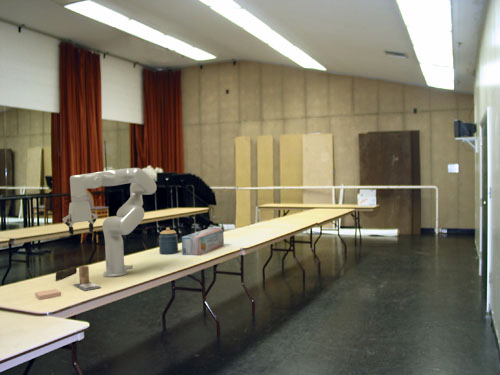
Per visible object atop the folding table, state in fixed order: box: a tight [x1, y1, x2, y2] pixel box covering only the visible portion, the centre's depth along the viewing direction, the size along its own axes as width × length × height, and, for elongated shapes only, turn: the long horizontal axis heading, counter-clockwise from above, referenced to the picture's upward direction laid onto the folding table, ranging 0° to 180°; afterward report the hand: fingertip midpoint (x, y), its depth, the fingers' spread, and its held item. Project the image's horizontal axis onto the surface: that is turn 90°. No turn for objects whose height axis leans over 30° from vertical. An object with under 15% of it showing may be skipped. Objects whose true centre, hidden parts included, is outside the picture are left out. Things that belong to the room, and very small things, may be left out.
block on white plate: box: [78, 265, 99, 289], centre depth 216 cm, size 6×12×9 cm, turn 40°
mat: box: [73, 281, 102, 292], centre depth 216 cm, size 8×16×1 cm, turn 39°
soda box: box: [181, 228, 225, 256], centre depth 312 cm, size 41×14×13 cm, turn 160°
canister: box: [158, 227, 179, 255], centre depth 305 cm, size 13×13×18 cm
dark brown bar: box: [55, 266, 78, 282], centre depth 239 cm, size 19×4×5 cm, turn 172°
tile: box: [34, 288, 62, 301], centre depth 200 cm, size 9×2×8 cm
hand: (81, 233), depth 223 cm, fingers open, 9 cm apart
